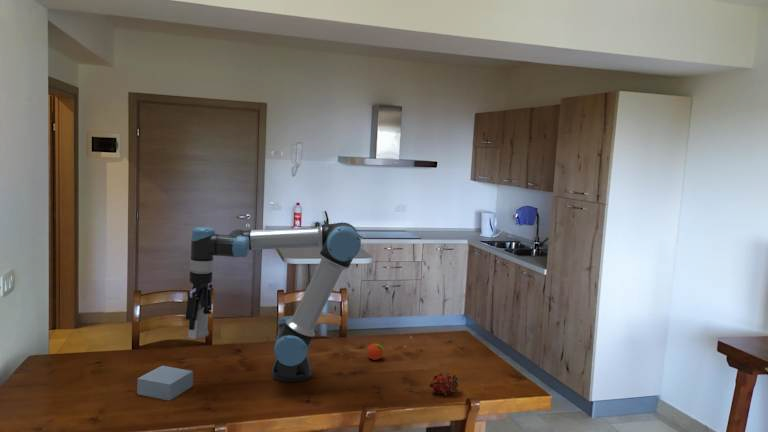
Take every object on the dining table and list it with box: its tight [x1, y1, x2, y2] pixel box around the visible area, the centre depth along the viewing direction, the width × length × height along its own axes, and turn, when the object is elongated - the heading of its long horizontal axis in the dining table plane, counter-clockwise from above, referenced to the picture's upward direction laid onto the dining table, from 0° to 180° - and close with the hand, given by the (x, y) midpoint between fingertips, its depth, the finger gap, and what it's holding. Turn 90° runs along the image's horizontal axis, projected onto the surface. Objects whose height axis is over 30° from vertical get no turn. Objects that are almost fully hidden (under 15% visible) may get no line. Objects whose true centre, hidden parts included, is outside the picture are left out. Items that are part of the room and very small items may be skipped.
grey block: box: [136, 365, 194, 402], centre depth 194 cm, size 13×13×6 cm
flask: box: [186, 306, 210, 339], centre depth 195 cm, size 7×7×10 cm
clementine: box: [366, 343, 385, 361], centre depth 236 cm, size 8×7×7 cm
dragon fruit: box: [429, 371, 459, 396], centre depth 205 cm, size 8×8×12 cm
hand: (197, 334), depth 195 cm, fingers closed on flask, 7 cm apart
